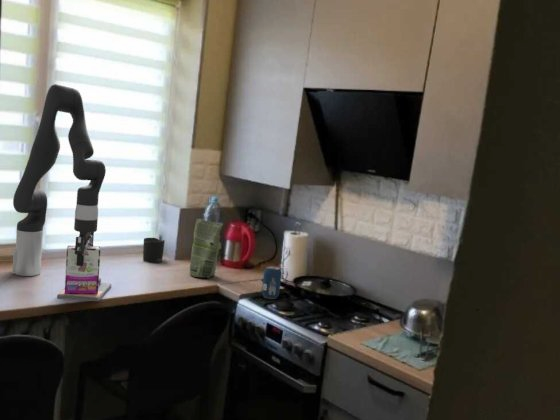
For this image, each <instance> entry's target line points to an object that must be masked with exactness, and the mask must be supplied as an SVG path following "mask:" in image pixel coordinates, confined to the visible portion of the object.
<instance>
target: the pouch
mask: <svg viewBox="0 0 560 420" xmlns="http://www.w3.org/2000/svg"><path fill="white" fill-rule="evenodd" d="M223 225H224V223H223V222H222V221H221V222H215V221H213V222H212V221H211V219H209V220H205V219H202V218H196V220H195V226H194V230H193V243H192V245H191V253H190V264H189V275H190V276H192V277H195V278H207V279H210V278H211V277H214V276H215V275H216V270H217V265H218V254H219V251H220V249H222V242H220V238H221V237H222V235H221V231H222V228H223V227H224V226H223Z"/></svg>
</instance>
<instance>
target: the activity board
mask: <svg viewBox="0 0 560 420" xmlns="http://www.w3.org/2000/svg"><path fill="white" fill-rule="evenodd" d="M111 288H112V283H107V282H106V283H104V282H102V278H100V277H99V284H98V294H65V287H64V288H63V289H62V290H61V291H59V293H57V295H56V296H57V299H67V300H74V301H75V300H76V301H89V302H100V301H101V300H102V298H103V297H104V295H106V294H107V292H108V291H109V290H110V289H111Z"/></svg>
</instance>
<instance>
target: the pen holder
mask: <svg viewBox="0 0 560 420" xmlns="http://www.w3.org/2000/svg"><path fill="white" fill-rule="evenodd" d="M142 248H143V252H142V255H143V256H142V259H143V261H144V262H146V263H151V264H159V263H161V262H162V261H163V257H164V250H165V249H164V248H165V239H162V240H160V239H158V238H157V237H145V238H143V247H142Z"/></svg>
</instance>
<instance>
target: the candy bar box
mask: <svg viewBox="0 0 560 420" xmlns="http://www.w3.org/2000/svg"><path fill="white" fill-rule="evenodd" d="M79 251H81V249H80V250H79ZM100 261H101V246H95V245H93V246H88V247H87V250H85V254H84V265H83V266H77V265H76V263H77V255H76V254H75V245H67V247H66V261H65V262H66V263H65V278H64V279H65V282H64V288H65V294H98V284H99V278H100V264H101V263H100Z"/></svg>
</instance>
